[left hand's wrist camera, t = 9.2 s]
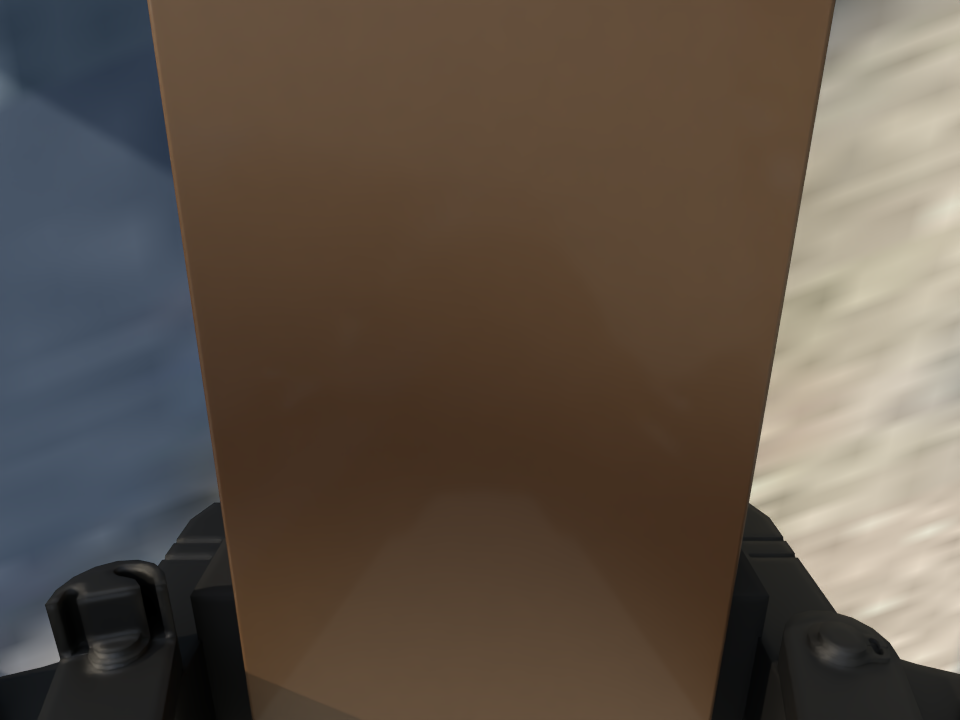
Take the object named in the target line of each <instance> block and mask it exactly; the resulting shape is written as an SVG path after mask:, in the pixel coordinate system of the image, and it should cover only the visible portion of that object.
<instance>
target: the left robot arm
mask: <svg viewBox="0 0 960 720" xmlns="http://www.w3.org/2000/svg"><path fill="white" fill-rule="evenodd" d="M45 606H46V610H47V613H48V617H49V620H50V624H51V627H52V631H53V635H54V638H55V642H56V645H57V649H58V652H59V656H60V662H58V663H54V664H51V665H48V666H45V667H41V668H37V669H32V670H28V671H24V672H19V673H15V674H11V675H6V676H2V677H0V720H252V715H251V709H250V702H249V695H248V688H247V681H246V674H245V667H244V661H243V654H242V647H241V640H240V633H239V626H238V619H237V613H236V606H235V599H234V592H233V585H232V578H231V571H230V565H229V558H228V551H227V544H226V537H225V530H224V523H223V517H222V510H221V503H213V504H212V505H210V506H209V507H208V508H206V509H205V510H203V511H202V512H201V513H199V514H198V515H196V516H195V517H194V518H192V519H191V520H190V521H189V523H188V524H187V526H186V527H185V528H184V530H183V531H182V533H181V534H180V536H179V537H178V538H177V543H174V544H173V545H172V547H171V548H170V550H169V551H168V553H167V554H166V555H165V560H162V561H161V562H160V564H159V565H158V566H157V565H156V564H154V563H150V562H146V561H141V560H127V561H116V562H112V563H108V564H104V565H101V566H97V567H94V568H92V569H90V570H88V571H85V572H83V573H81V574H79V575H77V576H75V577H73V578H72V579H70V580H69V581H68V582H66V583H65V584H64V585H62V586H61V587H60V588H58V589H57V590H56V591H55V592H54V594H53V595H52V596H51V598H50V599H49V600H48V602H47V603H46V604H45ZM711 720H960V674H957V673H953V672H948V671H944V670H940V669H935V668H931V667H927V666H922V665H918V664H915V663H911V662H908V661H905V660H901V659H900V658H899V656H898V655H897V653H896V652H895V650H894V649H893V647H892V646H891V644H890V643H889V642H888V641H887V640H886V639H885V638H883V637H882V636H881V635H880V634H879V633H878V632H876V631H875V630H874V629H873V628H871V627H869V626H867V625H865V624H863V623H861V622H859V621H858V620H856V619H854V618H851V617H848V616H845V615H841V614H838V613H837V612H836V611H835V610H834V608H833V607H832V605H831V604H830V602H829V601H828V600H827V598H826V597H825V595H824V594H823V593H822V591H821V590H820V588H819V587H818V585H817V584H816V583H815V581H814V580H813V578H812V577H811V576H810V574H809V573H808V571H807V570H806V569H805V567H804V566H803V564H802V563H801V561H800V560H799V559H798V558H795V553H794V552H793V550H792V549H791V547H790V546H789V545H788V543H787V542H786V541H784V540H783V536H782V535H781V533H780V532H779V530H778V529H777V528H776V526H775V525H774V523H773V522H772V521H771V519H770V518H769V517H768V516H767V515H765V514H764V513H762V512H761V511H759V510H758V509H757V508H755V507H754V506H752V505H751V504H750V503H749V505H748V510H747V516H746V522H745V528H744V533H743V539H742V545H741V551H740V557H739V562H738V568H737V574H736V580H735V586H734V591H733V597H732V603H731V609H730V615H729V620H728V626H727V632H726V638H725V643H724V649H723V655H722V661H721V667H720V672H719V678H718V684H717V690H716V696H715V701H714V707H713V713H712V719H711Z"/></svg>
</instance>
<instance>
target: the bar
mask: <svg viewBox="0 0 960 720" xmlns="http://www.w3.org/2000/svg"><path fill="white" fill-rule="evenodd" d="M835 1H836V0H147V2H148V9H149V16H150V23H151V30H152V36H153V43H154V50H155V57H156V64H157V71H158V78H159V84H160V91H161V98H162V105H163V112H164V119H165V126H166V132H167V139H168V146H169V153H170V160H171V167H172V174H173V180H174V187H175V194H176V201H177V208H178V215H179V222H180V228H181V235H182V242H183V249H184V256H185V263H186V270H187V276H188V283H189V290H190V297H191V304H192V311H193V318H194V324H195V331H196V338H197V345H198V352H199V359H200V366H201V372H202V379H203V386H204V393H205V400H206V407H207V414H208V421H209V427H210V434H211V441H212V448H213V455H214V462H215V469H216V475H217V482H218V489H219V496H220V503H221V510H222V517H223V523H224V530H225V537H226V544H227V551H228V558H229V565H230V571H231V578H232V585H233V592H234V599H235V606H236V613H237V619H238V626H239V633H240V640H241V647H242V654H243V661H244V667H245V674H246V681H247V688H248V695H249V702H250V709H251V715H252V720H711V719H712V713H713V707H714V701H715V696H716V690H717V684H718V678H719V672H720V667H721V661H722V655H723V649H724V643H725V638H726V632H727V626H728V620H729V615H730V609H731V603H732V597H733V591H734V586H735V580H736V574H737V568H738V562H739V557H740V551H741V545H742V539H743V533H744V528H745V522H746V516H747V510H748V505H749V499H750V493H751V487H752V481H753V476H754V470H755V464H756V458H757V452H758V447H759V441H760V435H761V429H762V423H763V418H764V412H765V406H766V400H767V395H768V389H769V383H770V377H771V371H772V366H773V360H774V354H775V348H776V342H777V337H778V331H779V325H780V319H781V313H782V308H783V302H784V296H785V290H786V285H787V279H788V273H789V267H790V261H791V256H792V250H793V244H794V238H795V232H796V227H797V221H798V215H799V209H800V203H801V198H802V192H803V186H804V180H805V175H806V169H807V163H808V157H809V151H810V146H811V140H812V134H813V128H814V122H815V117H816V111H817V105H818V99H819V93H820V88H821V82H822V76H823V70H824V64H825V59H826V53H827V47H828V41H829V36H830V30H831V24H832V18H833V12H834V7H835Z"/></svg>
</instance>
